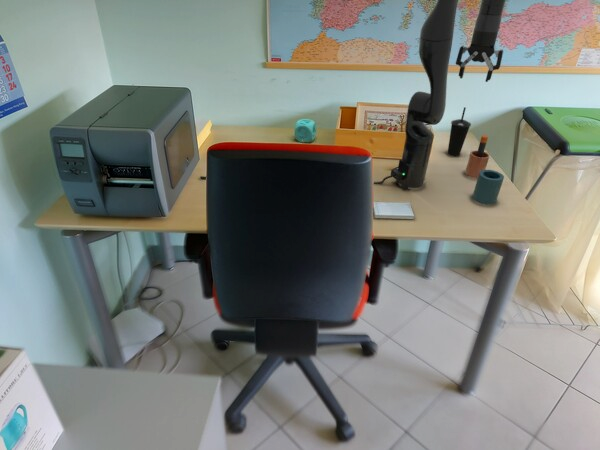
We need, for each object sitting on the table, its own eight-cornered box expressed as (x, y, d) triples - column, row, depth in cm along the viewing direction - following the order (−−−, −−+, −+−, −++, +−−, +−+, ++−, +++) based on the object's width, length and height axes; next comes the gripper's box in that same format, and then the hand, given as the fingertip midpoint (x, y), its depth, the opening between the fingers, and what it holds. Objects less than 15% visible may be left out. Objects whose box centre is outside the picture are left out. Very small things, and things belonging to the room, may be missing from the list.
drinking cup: (460, 150, 175) (472, 104, 163) (464, 158, 168) (477, 111, 157) (442, 149, 175) (453, 104, 164) (446, 157, 169) (457, 110, 158)
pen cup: (473, 181, 152) (479, 159, 147) (461, 173, 157) (466, 152, 152) (486, 178, 154) (493, 156, 149) (474, 170, 159) (480, 149, 154)
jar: (482, 208, 136) (491, 181, 130) (467, 197, 142) (474, 171, 136) (500, 203, 138) (509, 177, 133) (484, 193, 144) (492, 168, 138)
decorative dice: (315, 137, 185) (316, 120, 181) (311, 143, 179) (312, 126, 175) (299, 135, 187) (299, 118, 183) (294, 141, 181) (294, 124, 176)
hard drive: (409, 202, 135) (372, 201, 136) (414, 215, 129) (375, 214, 129) (408, 206, 136) (371, 205, 137) (413, 220, 130) (374, 218, 130)
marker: (474, 175, 154) (484, 137, 145) (470, 172, 156) (480, 135, 147) (478, 174, 155) (489, 136, 146) (474, 172, 156) (485, 134, 148)
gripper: (462, 28, 133) (451, 79, 142) (508, 32, 127) (494, 85, 137) (465, 25, 138) (455, 74, 147) (510, 29, 133) (496, 80, 142)
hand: (473, 79), depth 142 cm, fingers open, 8 cm apart
